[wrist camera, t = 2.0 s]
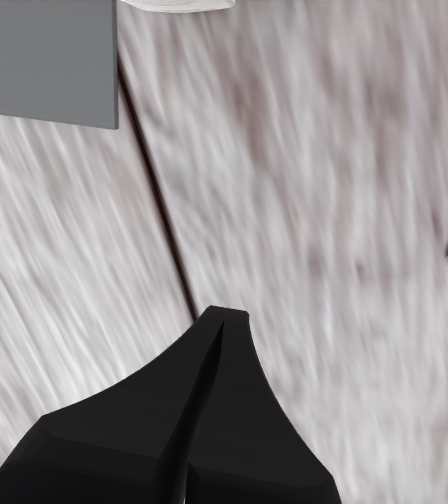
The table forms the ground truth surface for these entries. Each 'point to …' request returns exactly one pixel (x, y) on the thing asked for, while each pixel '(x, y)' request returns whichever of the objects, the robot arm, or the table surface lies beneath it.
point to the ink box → (180, 5)
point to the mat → (59, 61)
